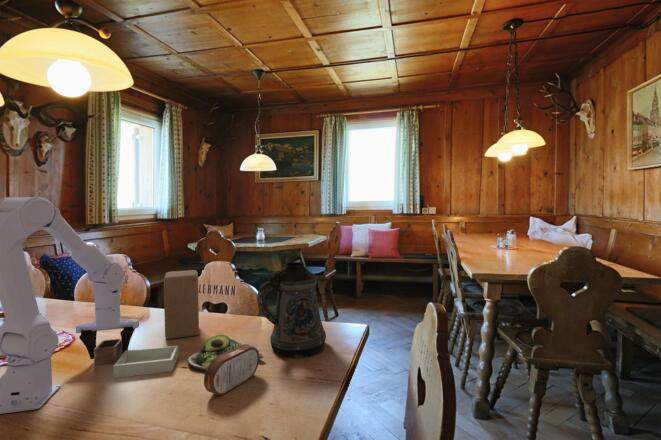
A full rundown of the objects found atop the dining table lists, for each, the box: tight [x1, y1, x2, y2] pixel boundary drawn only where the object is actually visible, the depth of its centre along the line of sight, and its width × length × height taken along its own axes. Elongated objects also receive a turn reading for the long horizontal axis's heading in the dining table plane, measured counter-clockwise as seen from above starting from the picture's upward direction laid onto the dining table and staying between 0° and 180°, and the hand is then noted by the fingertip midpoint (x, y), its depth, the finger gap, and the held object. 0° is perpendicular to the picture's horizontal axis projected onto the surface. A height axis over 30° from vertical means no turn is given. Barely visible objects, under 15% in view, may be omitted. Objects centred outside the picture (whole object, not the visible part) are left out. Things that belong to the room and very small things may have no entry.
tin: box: [203, 343, 260, 396], centre depth 81 cm, size 15×3×8 cm, turn 149°
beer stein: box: [256, 262, 327, 360], centre depth 101 cm, size 16×19×25 cm
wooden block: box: [163, 269, 200, 340], centre depth 114 cm, size 10×10×20 cm
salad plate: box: [187, 334, 264, 372], centre depth 95 cm, size 19×18×5 cm
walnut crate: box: [93, 338, 122, 368], centre depth 94 cm, size 6×5×5 cm
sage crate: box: [113, 345, 179, 379], centre depth 91 cm, size 9×13×3 cm
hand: (109, 355), depth 94 cm, fingers open, 7 cm apart
